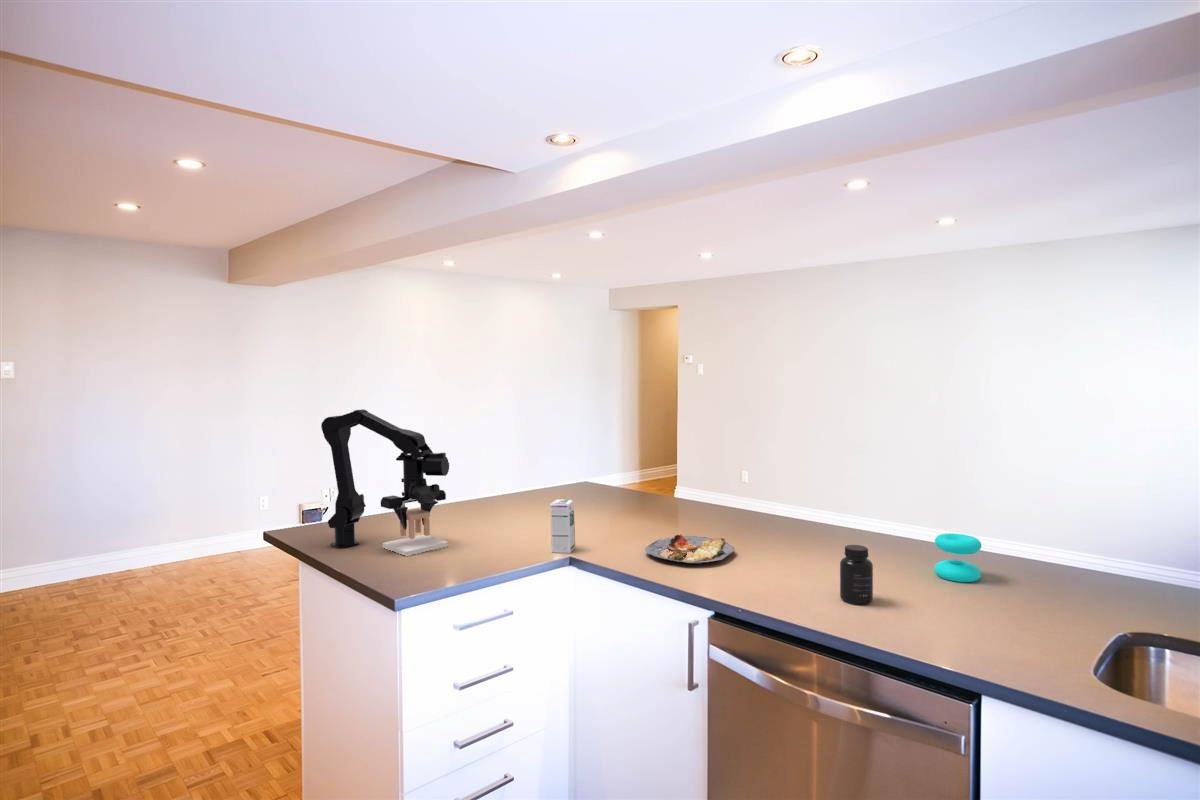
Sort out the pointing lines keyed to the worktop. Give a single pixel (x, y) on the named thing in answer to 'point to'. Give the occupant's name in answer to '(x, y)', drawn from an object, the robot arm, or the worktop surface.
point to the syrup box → (562, 526)
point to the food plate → (691, 549)
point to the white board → (415, 544)
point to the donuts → (957, 568)
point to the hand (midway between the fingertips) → (414, 527)
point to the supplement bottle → (856, 576)
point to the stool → (416, 523)
